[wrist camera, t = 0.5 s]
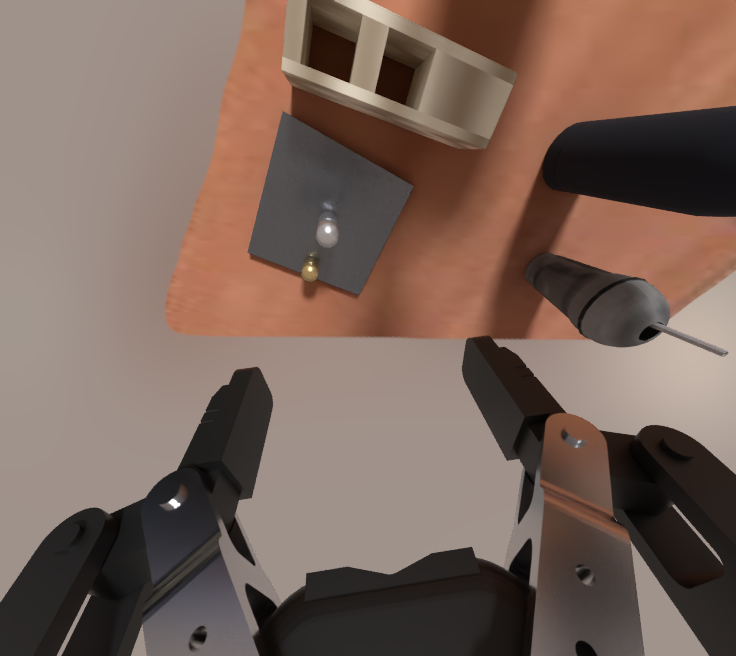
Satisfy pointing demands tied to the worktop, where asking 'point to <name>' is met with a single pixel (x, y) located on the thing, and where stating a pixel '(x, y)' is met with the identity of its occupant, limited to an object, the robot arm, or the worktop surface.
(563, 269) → the grey tapered rounded cylinder
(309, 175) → the mounting plate
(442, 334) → the worktop surface
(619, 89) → the worktop surface
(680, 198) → the wine bottle
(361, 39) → the bar
